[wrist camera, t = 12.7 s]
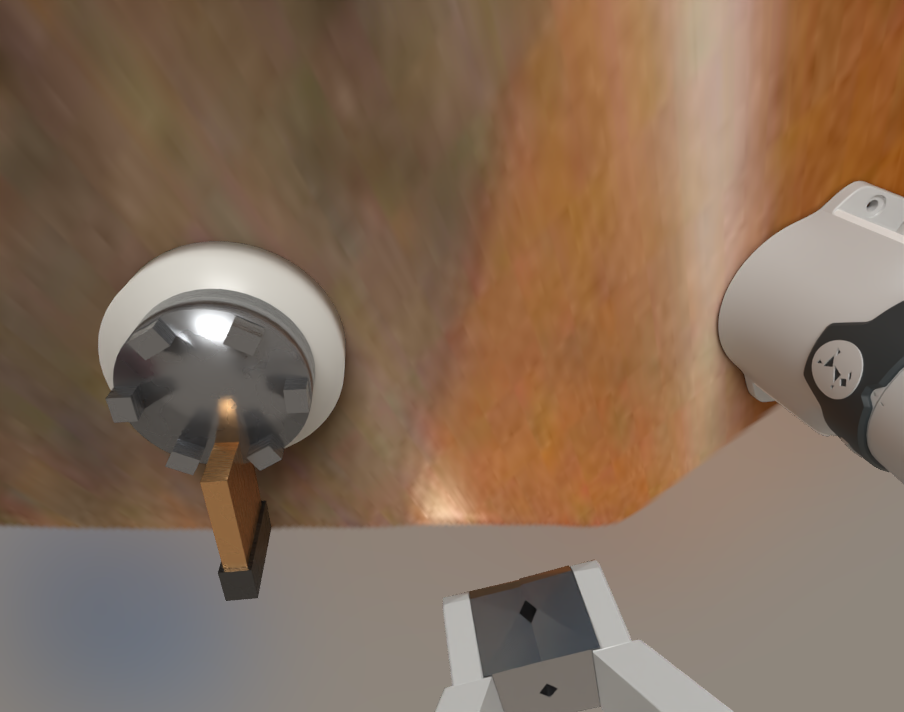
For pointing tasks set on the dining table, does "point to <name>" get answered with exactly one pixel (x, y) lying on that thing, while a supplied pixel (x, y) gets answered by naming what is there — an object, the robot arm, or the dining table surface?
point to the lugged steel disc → (219, 408)
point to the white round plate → (247, 275)
